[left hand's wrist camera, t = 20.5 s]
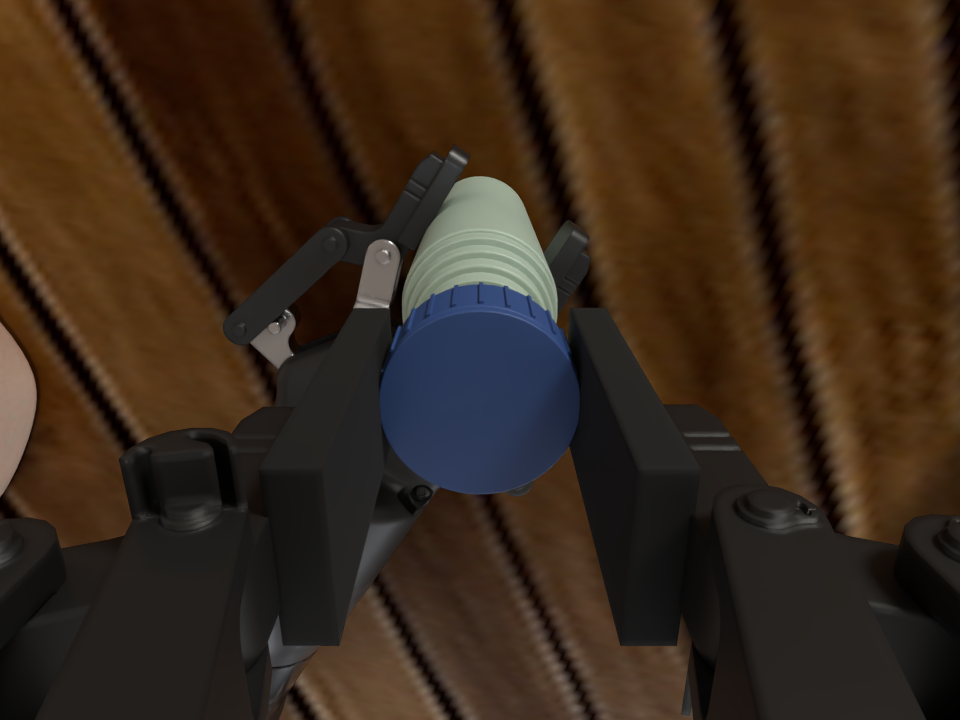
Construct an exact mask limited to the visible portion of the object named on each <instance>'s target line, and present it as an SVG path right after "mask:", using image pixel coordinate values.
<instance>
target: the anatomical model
mask: <svg viewBox="0 0 960 720" xmlns="http://www.w3.org/2000/svg"><path fill="white" fill-rule="evenodd" d="M36 400H37V391H36V384H35V379H34V375H33V373H32V370H31V368H30V365H29V363H28V361H27V359H26V357H25V356H24V354H23V352H22V350H21V349H20V347H19V346H18V345H17V343H16V342H15V340H14V339H13V337H12V336H11V335H10V333H9V332H8V331H7V330H6V329H5V327H4V326H3V325H2V324H1V322H0V496H1V495H2V494H3V492H4V491H5V489H6V488H7V486H8V484H9V482H10V481H11V479H12V477H13V475H14V473H15V471H16V469H17V467H18V464H19V462H20V460H21V457H22V455H23V452H24V449H25V447H26V444H27V441H28V438H29V435H30V431H31V428H32V425H33V420H34V415H35V411H36Z"/></svg>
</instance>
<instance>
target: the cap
mask: <svg viewBox="0 0 960 720" xmlns="http://www.w3.org/2000/svg"><path fill="white" fill-rule="evenodd" d="M571 354H572V353H571V350H570V347H569V344H568V342H567V339H566V336H565V333H564V331H563V329H562V328H561V329H559V328H558V326H557V324H556V323H555V321H554V320H553V319H552V316H551V313H550V311H549V310H548V309H547V310H546V311H545V310H544V309H543V308H542V307H541V306H540V305H539V304H537V303H536V302H534V301H533V300H532V298H531V296H530V295H527V296H525V295H523V294H521V293H519V292H517V291H514V290H511V289H509V287H508V286H506V285H504V287H500V286H495V285H486V284H483V282H479V284H473V285H464V286H459V287H458V285H454V288H452V289H448V290H445V291H443V292H441V293H439V294H437V295H435V293H433V294H431V296H430V299H428V300H426V301H425V302H423V303H422V304H421V305H420V306H419V307H417V308H416V309H415V308H413V309H412V310H411V313H410V316H409V317H408V318H407V319H406V321H405V322H404V324H403V325H402V326H398V328H397V330H396V333H395V336H394V339H393V341H392V344H391V347H390V349H389V352H388V354H387V357H386V360H385V363H384V366H383V369H382V375H383V376H382V379H381V382H380V388H379V395H380V412H381V425H382V429H383V431H384V434H385V436H386V438H387V441H388V442H389V444H390V446H391V447H392V449H393V451H394V452H395V453H396V454H397V456H398V457H399V458H400V460H401V461H402V462H403V463H404V464H405V465H406V466H407V467H408V468H409V469H411V470H412V471H413V472H415V473H416V474H417V475H418V476H420V477H422V478H423V479H425V480H427V481H428V482H430V483H432V484H435V485H437V486H439V487H442V488H445V489H448V490H451V491H455V492H461V493H467V494H492V493H499V492H504V491H508V490H511V489H515V488H518V487H520V486H522V485H525V484H527V483H529V482H531V481H533V480H535V479H536V478H538V477H539V476H541V475H542V474H544V473H545V472H546V471H548V470H549V469H550V468H551V467H552V466H553V465H554V464H555V463H556V462H557V461H558V460H559V459H560V457H561V456H562V455H563V454H564V453H565V451H566V449H567V448H568V446H569V445H570V443H571V441H572V439H573V437H574V435H575V432H576V429H577V426H578V421H579V405H580V385H579V381H578V373H577V370H576V368H575V365H574V362H573V359H572V356H571Z"/></svg>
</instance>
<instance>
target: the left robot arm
mask: <svg viewBox="0 0 960 720" xmlns="http://www.w3.org/2000/svg"><path fill="white" fill-rule="evenodd" d="M391 344H392V341H391V322H390V308H354V309H353V310H352V312H351V314H350V315H349V317H348V319H347V321H346V322H345V324H344V326H343V327H342V329H341V331H340V332H339V334H338V336H337V337H336V339H335V341H334V342H333V344H332V346H331V348H330V349H329V351H328V353H327V354H326V356H325V358H324V359H323V361H322V363H321V364H320V366H319V368H318V370H317V371H316V373H315V375H314V376H313V378H312V380H311V381H310V383H309V385H308V386H307V388H306V390H305V391H304V393H303V395H302V397H301V398H300V400H299V402H298V403H297V405H296V407H262V408H261V409H259V410H257V411H256V412H254V413H253V414H251V415H249V416H248V417H246V418H244V419H243V420H241V422H240V423H239V424H238V426H237V427H236V428H235V430H234V431H233V432H232V434H230V433H229V432H227V431H222V430H218V429H214V428H188V429H182V430H176V431H170V432H166V433H163V434H160V435H157V436H154V437H151V438H148V439H146V440H144V441H142V442H140V443H138V444H137V445H135V446H133V447H131V448H130V449H129V450H128V451H127V452H126V453H125V454H124V455H123V456H122V457H121V458H120V459H119V462H120V466H121V471H122V475H123V480H124V484H125V488H126V493H127V497H128V502H129V506H130V511H131V515H132V519H133V520H132V522H131V524H130V526H129V528H128V530H127V532H126V534H125V536H121V537H117V538H113V539H109V540H104V541H99V542H94V543H88V544H83V545H78V546H73V547H67V548H62V549H61V547H60V543H59V540H58V536H57V533H56V529H55V528H54V527H53V526H52V525H50V524H49V523H48V522H47V521H45V520H39V519H33V518H16V519H1V520H0V720H267V713H268V704H269V696H270V687H271V679H272V665H271V658H270V652H269V645H268V640H269V638H270V635H271V633H272V630H273V627H274V625H275V622H276V620H277V617H278V615H279V622H280V629H281V636H282V643H283V646H339V644H340V640H341V636H342V632H343V628H344V625H345V621H346V617H347V613H348V609H349V605H350V601H351V597H352V593H353V589H354V585H355V581H356V578H357V574H358V570H359V566H360V562H361V558H362V554H363V550H364V546H365V542H366V538H367V534H368V531H369V527H370V523H371V519H372V515H373V511H374V507H375V503H376V499H377V495H378V491H379V487H380V484H381V480H382V476H383V472H384V468H385V464H386V460H387V456H388V452H389V448H390V444H389V442H388V441H387V438H386V436H385V434H384V431H383V429H382V425H381V412H380V395H379V388H380V382H381V379H382V376H383V375H382V369H383V366H384V363H385V360H386V357H387V354H388V352H389V349H390V347H391ZM568 344H569V347H570V350H571V353H572V354H571V356H572V359H573V362H574V365H575V368H576V370H577V373H578V381H579V385H580V405H579V421H578V426H577V429H576V432H575V435H574V437H573V439H572V441H571V443H570V445H569V446H570V450H571V454H572V458H573V462H574V466H575V470H576V473H577V477H578V481H579V485H580V489H581V493H582V497H583V501H584V505H585V509H586V513H587V517H588V520H589V524H590V528H591V532H592V536H593V540H594V544H595V548H596V552H597V556H598V560H599V564H600V568H601V571H602V575H603V579H604V583H605V587H606V591H607V595H608V599H609V603H610V607H611V611H612V615H613V618H614V622H615V626H616V630H617V634H618V638H619V642H620V646H677V640H678V633H679V625H680V618H681V612H682V615H683V617H684V620H685V623H686V625H687V628H688V630H689V633H690V635H691V638H692V645H691V652H690V658H689V665H688V672H687V678H686V685H685V692H684V698H683V705H682V712H681V715H686V716H690V713H691V708H692V711H693V720H960V516H946V515H934V514H932V515H926V516H920V517H915V518H913V519H912V520H911V521H910V522H908V523H907V524H906V525H905V527H904V531H903V534H902V538H901V541H900V545H899V546H898V545H893V544H887V543H882V542H877V541H871V540H866V539H861V538H855V537H850V536H846V535H842V534H838V533H834V531H833V529H832V527H831V525H830V523H829V521H828V519H827V518H826V516H825V515H824V514H823V513H822V512H821V510H820V509H819V508H818V507H817V506H816V505H814V504H813V503H811V502H809V501H808V500H806V499H805V498H803V497H802V496H800V495H797V494H795V493H792V492H789V491H787V490H784V489H781V488H777V487H772V486H768V484H767V483H766V482H765V480H764V479H763V478H762V476H761V475H760V474H759V472H758V471H757V469H756V468H755V467H754V465H753V464H752V463H751V461H750V460H749V459H748V457H747V456H746V455H745V453H744V452H743V451H742V450H740V447H739V445H738V444H737V442H736V441H735V440H734V438H733V437H730V433H729V432H728V430H727V429H726V428H725V426H724V425H723V424H722V422H721V421H720V419H719V418H717V417H716V416H714V415H713V414H711V413H709V412H708V411H706V410H704V409H703V408H701V407H699V406H698V405H663V404H662V402H661V401H660V399H659V397H658V396H657V394H656V392H655V391H654V389H653V387H652V386H651V384H650V382H649V380H648V379H647V377H646V375H645V374H644V372H643V370H642V369H641V367H640V365H639V364H638V362H637V360H636V358H635V357H634V355H633V353H632V352H631V350H630V348H629V347H628V345H627V343H626V342H625V340H624V338H623V337H622V335H621V333H620V331H619V330H618V328H617V326H616V325H615V323H614V321H613V320H612V318H611V316H610V315H609V313H608V311H607V309H606V308H570V313H569V333H568Z"/></svg>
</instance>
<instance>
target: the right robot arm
mask: <svg viewBox="0 0 960 720" xmlns="http://www.w3.org/2000/svg"><path fill="white" fill-rule="evenodd" d="M469 158H470V154H468V153H467V152H465V151H464V150H462V149H461V148H459V147H458V146H456V145H455V144H454V145H453V147H452V149H451V150H450V152H449V154H448V155H447V157H446V159H445V158H444V157H442V156H440V155H439V154H437V153H436V152H434V151H433V152H432V153H431V154H429V155H428V156H427V157H425V158H424V159H423V160H422V161H421V162H420V163H419V164H418V166H417V167H416V169H415V171H414V173H413V174H412V176H411V178H410V180H409V181H408V183H407V185H406V187H405V188H404V190H403V192H402V194H401V195H400V197H399V199H398V200H397V202H396V204H395V206H394V207H393V209H392V211H391V213H390V214H389V216H388V218H387V220H386V221H384V222H383V223H381V224H378V225H367V224H362V223H358V222H354V221H353V220H352V219H351V218H349V217H346V216H338V217H335V218H333V219H332V220H331V221H330V222H329V223H328V224H327V225H325V226H324V227H323V228H321V229H320V230H319V231H318V232H317V233H316V234H315V235H314V236H312V237H311V238H310V239H309V240H308V241H307V242H306V243H305V244H304V245H303V246H302V247H301V248H300V249H299V250H298V251H297V252H296V253H295V254H294V255H293V256H291V257H290V258H289V259H288V260H287V261H286V262H285V263H284V264H283V265H282V266H281V267H280V268H279V269H278V270H277V271H276V272H275V273H274V274H273V275H272V276H271V277H269V278H268V279H267V280H266V281H265V282H264V283H263V284H262V285H261V286H260V287H259V288H258V289H257V290H256V291H255V292H254V293H253V294H252V295H251V296H250V297H248V298H247V299H246V300H245V301H244V302H243V303H242V304H241V305H240V306H239V307H238V308H237V309H236V310H235V311H234V312H233V313H232V314H231V315H230V316H229V317H228V318H227V319H226V320H225V321H224V324H223V331H224V334H225V336H226V337H227V338H228V339H229V340H230V341H231V342H233V343H235V344H238V345H246V344H248V343H251V344H252V345H253V346H254V347H255V348H256V349H257V350H258V351H259V352H261V353H262V354H263V355H264V356H265V357H266V358H267V359H268V360H269V361H270V362H271V363H272V364H273V365H274V366H275V367H277V368H278V372H277V376H276V385H277V395H276V400H275V403H274V405H273V407H296V405H297V403H298V402H299V400H300V398H301V397H302V395H303V393H304V391H305V390H306V388H307V386H308V385H309V383H310V381H311V380H312V378H313V376H314V375H315V373H316V371H317V370H318V368H319V366H320V364H321V363H322V361H323V359H324V358H325V356H326V354H327V353H328V351H329V349H330V348H331V346H332V344H333V342H334V341H335V339H336V337H337V336H338V334H339V332H340V331H341V330H340V331H337V332H335V333H332V334H329V335H327V336H324V337H322V338H319V339H317V340H314V341H312V342H309V343H306V344H304V345H301V346H299V345H298V344H297V342H296V340H295V337H294V332H295V329H296V327H297V326H298V324H299V323H300V321H301V312H300V309H299V308H298V306H297V305H296V304H295V303H294V302H295V301H296V300H297V299H298V298H299V297H300V296H301V295H302V294H303V293H304V292H305V291H307V290H308V289H309V288H310V287H311V286H312V285H313V284H314V283H315V282H316V281H317V280H318V279H319V278H321V277H322V276H323V275H324V274H325V273H326V272H327V271H328V270H329V269H330V268H331V267H332V266H334V265H335V264H336V263H337V262H338V261H343V262H348V263H353V264H358V265H363V271H362V276H361V280H360V285H359V290H358V295H357V298H356V301H355V304H354V308H390V322H391V341H393V339H394V336H395V333H396V330H397V328H398V326H402V324H400V323H398V322H397V321H395V320H393V319H392V318H391V316H392V312H393V308H394V303H395V299H396V294H397V288H398V283H399V278H400V274H401V270H402V265H403V261H404V257H405V255H406V254H407V252H408V250H409V249H411V250H413V251H415V249H416V248H417V246H418V244H419V243H420V241H421V239H422V238H423V236H424V234H425V232H426V230H427V229H428V227H429V226H430V224H431V223H432V221H433V219H434V218H435V216H436V214H437V213H438V211H439V209H440V208H441V206H442V204H443V203H444V201H445V199H446V198H447V196H448V194H449V193H450V191H451V189H452V188H453V186H454V184H455V183H456V181H457V179H458V178H459V176H460V174H461V173H462V171H463V169H464V167H465V166H466V164H467V162H468V160H469ZM588 240H589V236H588V234H587V233H586V232H585V231H584V230H583V229H582V228H580V227H579V226H577V225H576V224H574V223H573V222H571V221H570V220H567V221H566V222H565V223H564V224H563V226H562V227H561V228H560V230H559V231H558V233H557V234H556V236H555V237H554V239H553V240H552V242H551V243H550V245H549V246H548V248H547V249H546V251H545V252H544V253H543V254H544V257H545V259H546V262H547V264H548V267H549V269H550V272H551V274H552V277H553V279H554V283H555V286H556V291H557V299H558V301H557V315H558V313H559V312H560V311H561V309H562V308H563V306H564V305H565V304H566V302H567V301H568V299H569V298H570V296H571V294H573V292H574V291H575V289H576V288H577V286H578V285H579V284H580V282H581V281H582V279H583V278H584V277H585V275H586V274H587V272H588V268H589V264H590V260H591V258H590V256H589V255H588V253H587V252H586V250H585V249H584V248H585V247H586V245H587V243H588ZM354 308H353V309H354ZM533 481H534V480H533ZM533 481H531V482H529V483H527V484H525V485H522V486H520V487H518V488H515V489H511V490H508V491H505V492H506V493H508V494H509V495H512V496H522V495H524V494H526V493H527V492H528V491H529V490H530V489H531V486H532V484H533ZM440 488H441V487H439V486H437V485H435V484H432V483H430V482H428V481H427V480H425V479H423V478H422V477H420V476H418V475H417V474H416V473H415V472H413V471H412V470H411V469H409V468H408V467H407V466H406V465H405V464H404V463H403V462H402V461H401V460H400V458H399V457H398V456H397V454H396V453H395V452H394V451H393V449H392V447H391V446H390V448H389V452H388V456H387V460H386V464H385V468H384V472H383V476H382V480H381V484H380V487H379V491H378V495H377V499H376V503H375V507H374V511H373V515H372V519H371V523H370V527H369V531H368V534H367V538H366V542H365V546H364V550H363V554H362V558H361V562H360V566H359V570H358V574H357V578H356V581H355V585H354V589H353V593H352V597H351V601H350V605H349V609H348V613H347V617H348V615H349V614H350V613H351V611H352V610H353V609H354V607H355V606H356V605H357V603H358V602H359V600H360V599H361V598H362V596H363V595H364V593H365V592H366V591H367V589H368V588H369V586H370V585H371V583H372V582H373V581H374V579H375V578H376V576H377V575H378V574H379V572H380V571H381V569H382V568H383V566H384V565H385V564H386V562H387V561H388V559H389V558H390V557H391V555H392V554H393V552H394V551H395V550H396V548H397V547H398V545H399V544H400V542H401V541H402V540H403V538H404V537H405V535H406V534H407V533H408V531H409V530H410V528H411V527H412V525H413V524H414V523H415V521H416V520H417V518H418V517H419V516H420V514H421V513H422V511H423V510H424V509H425V507H426V506H427V504H428V503H429V501H430V500H431V498H432V497H433V495H434V494H435V493H436V491H437V490H438V489H440ZM347 617H346V618H347ZM268 645H269V652H270V658H271V665H272V679H271V687H270V696H269V704H268V713H267V720H279V719H280V716H281V713H282V710H283V706H284V702H285V699H286V695H287V693H288V692H289V690H290V689H291V687H292V686H293V685H294V683H295V681H296V680H297V678H298V677H299V675H300V674H301V672H302V671H303V670H304V668H305V667H306V665H307V664H308V662H309V661H310V660H311V658H312V657H313V655H314V654H315V652H316V651H317V650H318V648H319V647H320V646H283V643H282V636H281V629H280V622H279V615H278V617H277V620H276V622H275V625H274V627H273V630H272V633H271V635H270V638H269V640H268Z"/></svg>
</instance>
